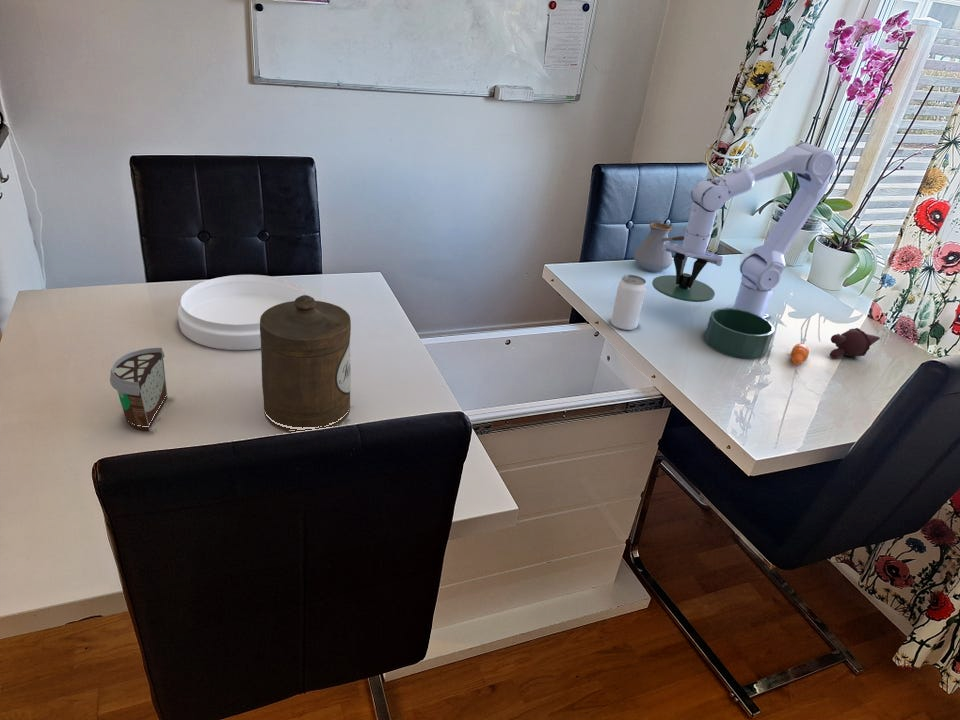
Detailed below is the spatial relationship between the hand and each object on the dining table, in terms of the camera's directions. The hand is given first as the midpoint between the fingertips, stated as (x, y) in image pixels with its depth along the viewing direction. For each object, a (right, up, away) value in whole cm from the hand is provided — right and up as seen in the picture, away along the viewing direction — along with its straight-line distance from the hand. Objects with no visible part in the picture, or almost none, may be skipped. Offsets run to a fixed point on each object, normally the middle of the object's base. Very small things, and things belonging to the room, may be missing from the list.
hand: (684, 284), depth 167 cm
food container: (-109, -28, -54) cm, 125 cm away
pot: (+10, -15, -7) cm, 19 cm away
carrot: (+23, -19, -12) cm, 33 cm away
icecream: (+38, -18, -6) cm, 42 cm away
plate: (-102, -10, -21) cm, 105 cm away
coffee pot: (+2, +6, +29) cm, 30 cm away
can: (-16, -10, -4) cm, 20 cm away
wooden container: (-82, -28, -48) cm, 99 cm away
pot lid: (0, -1, +1) cm, 1 cm away
